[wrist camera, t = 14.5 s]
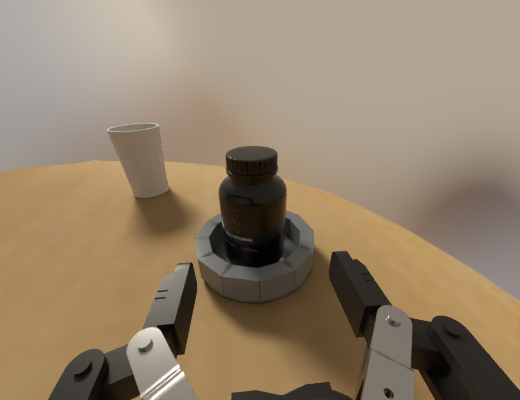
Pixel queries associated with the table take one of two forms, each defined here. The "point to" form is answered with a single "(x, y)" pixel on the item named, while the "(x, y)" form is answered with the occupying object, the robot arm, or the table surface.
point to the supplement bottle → (253, 207)
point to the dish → (249, 278)
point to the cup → (141, 157)
